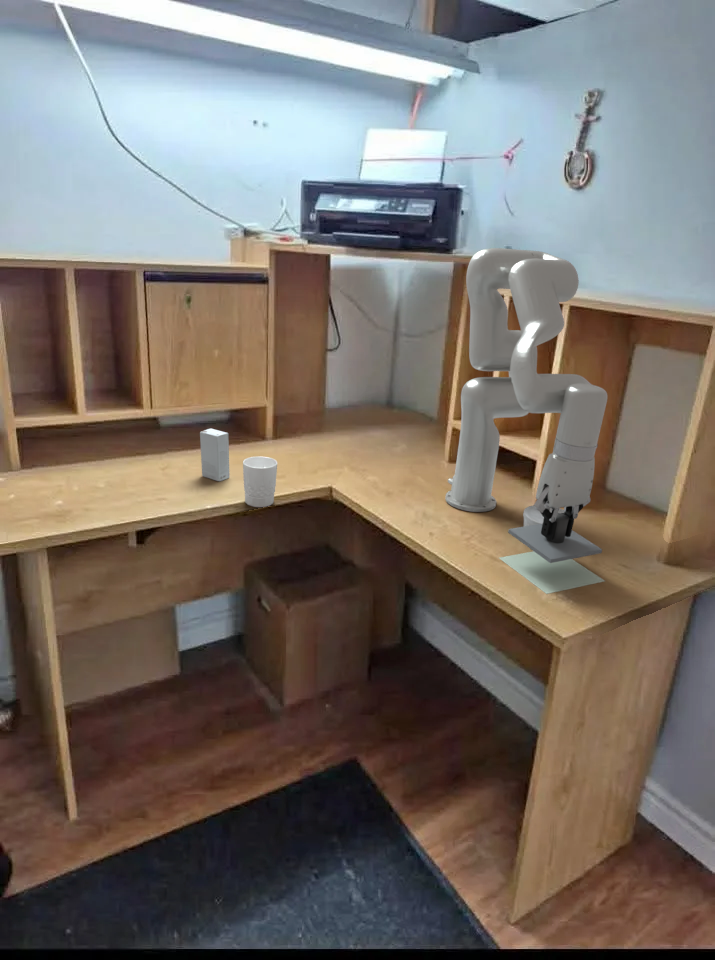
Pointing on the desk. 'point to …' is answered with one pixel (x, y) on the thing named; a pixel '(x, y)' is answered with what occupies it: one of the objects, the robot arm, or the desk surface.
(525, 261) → the robot arm
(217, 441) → the skincare box
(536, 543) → the lid
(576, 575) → the mat
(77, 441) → the desk surface
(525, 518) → the ramekin
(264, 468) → the white cup
